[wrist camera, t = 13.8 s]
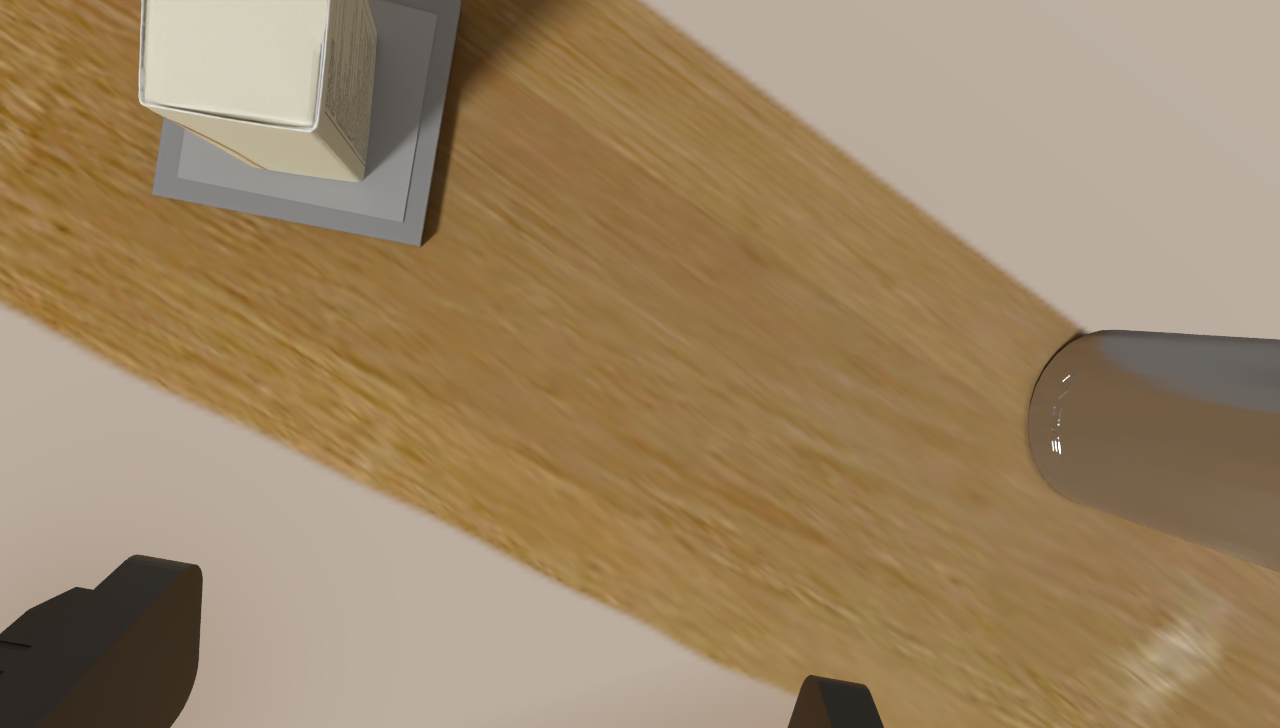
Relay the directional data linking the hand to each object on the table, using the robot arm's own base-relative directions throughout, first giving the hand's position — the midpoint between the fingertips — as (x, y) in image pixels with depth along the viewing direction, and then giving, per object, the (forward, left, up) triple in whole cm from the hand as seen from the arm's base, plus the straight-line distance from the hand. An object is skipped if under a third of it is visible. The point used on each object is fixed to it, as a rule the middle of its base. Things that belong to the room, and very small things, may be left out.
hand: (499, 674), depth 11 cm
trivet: (+8, -11, -25) cm, 29 cm away
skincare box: (+8, -11, -24) cm, 28 cm away
